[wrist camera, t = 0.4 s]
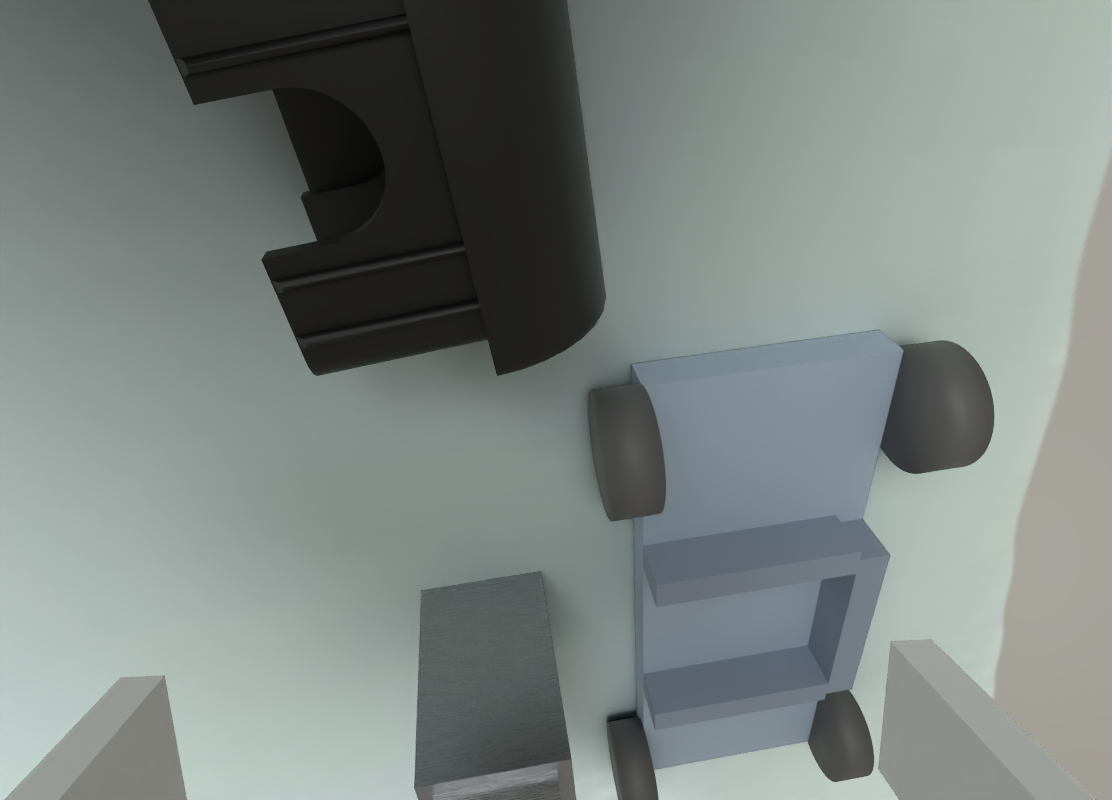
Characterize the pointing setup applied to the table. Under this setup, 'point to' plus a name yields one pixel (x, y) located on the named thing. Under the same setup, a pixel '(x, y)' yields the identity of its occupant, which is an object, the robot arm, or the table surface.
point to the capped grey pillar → (490, 695)
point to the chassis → (766, 535)
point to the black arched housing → (417, 169)
